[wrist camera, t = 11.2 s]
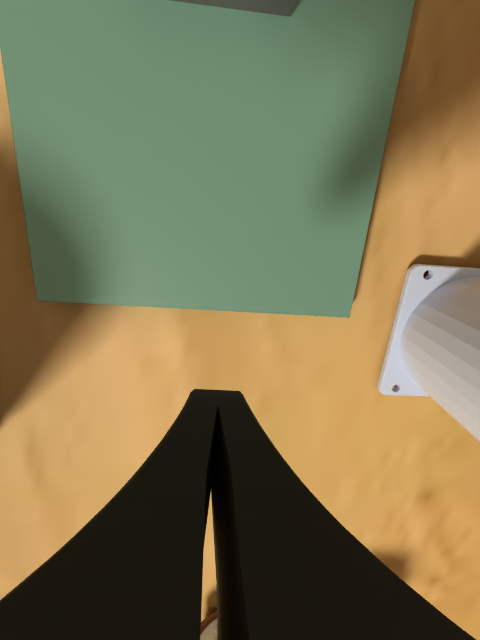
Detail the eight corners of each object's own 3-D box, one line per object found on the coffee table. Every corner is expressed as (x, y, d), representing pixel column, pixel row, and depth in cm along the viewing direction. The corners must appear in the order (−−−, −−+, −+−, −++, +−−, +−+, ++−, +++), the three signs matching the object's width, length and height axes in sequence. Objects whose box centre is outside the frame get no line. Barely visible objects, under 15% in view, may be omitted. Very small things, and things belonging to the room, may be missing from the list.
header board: (466, -315, 11) (556, -503, 8) (342, 311, 18) (365, 331, 15) (-50, -439, 9) (-169, -723, 6) (47, 295, 17) (12, 314, 14)
